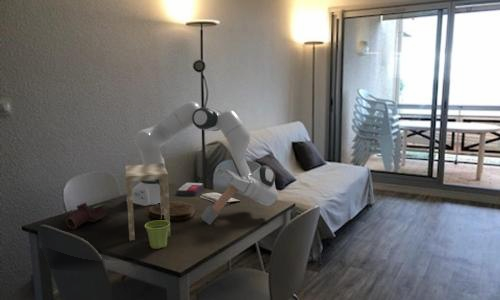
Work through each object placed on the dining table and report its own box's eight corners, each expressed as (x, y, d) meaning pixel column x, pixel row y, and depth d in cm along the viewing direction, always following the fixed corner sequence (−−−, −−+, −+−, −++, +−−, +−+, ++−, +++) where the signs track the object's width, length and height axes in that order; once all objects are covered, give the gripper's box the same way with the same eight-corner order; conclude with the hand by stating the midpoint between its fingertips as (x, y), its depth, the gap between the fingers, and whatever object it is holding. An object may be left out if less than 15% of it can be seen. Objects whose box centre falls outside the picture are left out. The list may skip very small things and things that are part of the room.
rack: (165, 219, 187) (163, 163, 183) (170, 236, 166) (167, 173, 162) (129, 222, 183) (125, 165, 178) (129, 240, 162) (125, 176, 158)
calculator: (176, 189, 226) (185, 181, 241) (176, 197, 227) (186, 188, 241) (195, 190, 224) (203, 182, 238) (195, 197, 225) (204, 189, 239)
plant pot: (141, 250, 153) (140, 227, 152) (152, 240, 162) (150, 219, 161) (165, 251, 151) (164, 229, 150) (174, 241, 160) (173, 220, 159)
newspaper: (198, 198, 223) (198, 193, 222) (217, 196, 230) (217, 192, 230) (222, 207, 205) (223, 202, 205) (242, 205, 213) (242, 200, 213)
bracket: (109, 213, 188) (99, 194, 187) (80, 232, 174) (68, 211, 173) (102, 215, 191) (91, 197, 190) (72, 234, 177) (61, 214, 176)
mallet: (238, 183, 186) (232, 177, 185) (242, 186, 181) (235, 180, 179) (207, 220, 185) (200, 215, 183) (209, 225, 179) (202, 219, 178)
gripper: (242, 173, 194) (217, 160, 189) (255, 184, 175) (228, 170, 170) (236, 185, 194) (211, 172, 189) (248, 197, 175) (220, 183, 170)
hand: (219, 171), depth 180 cm, fingers open, 8 cm apart
